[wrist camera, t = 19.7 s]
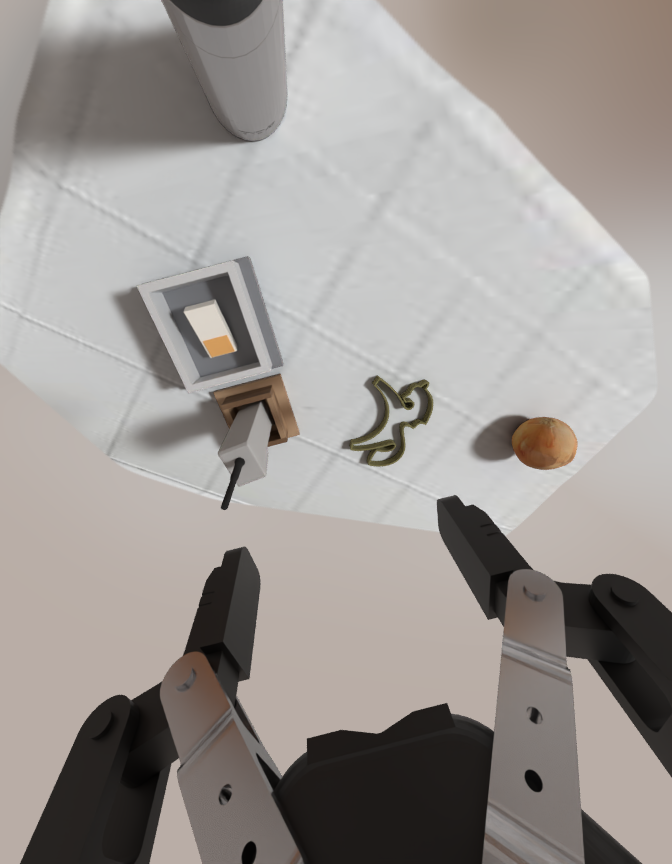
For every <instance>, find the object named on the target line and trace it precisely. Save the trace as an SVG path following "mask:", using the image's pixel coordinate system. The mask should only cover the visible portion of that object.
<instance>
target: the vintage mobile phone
mask: <svg viewBox="0 0 672 864" xmlns="http://www.w3.org/2000/svg"><path fill="white" fill-rule="evenodd" d="M273 425H275V420H274V418H273V416H272V415H271V413H270V411H269V409H268V407H267V405H266V403H265V401H264V400H260V401H256V402H252V403H249V404H245V405H241V407H240V409H239V411H238V413H237V415H236V417H235V419H234V421H233V423H232V425H231V427H230V429H229V431H228V433H227V435H226V437H225V439H224V441H223V443H222V445H221V447H220V449H219V451H218V455H219V457H220V458H221V460H222V461H223V463H224V465H225V466H226V468H227V469H228V471H229V472H230V474H231V478H230V483H229V486H228V489H227V491H226V494H225V497H224V500H223V502H222V506H221V509H223V510H226V509H227V508H228V505H229V502H230V499H231V496H232V493H233V490H234V487H235V484H236V483H237V485H238V486H239V487H240V486H242V485H245V484H247V483H250V482H253V481H255V480H258V479H260V478H263V477H265V476H266V474H267V463H268V448H267V446H268V441H269V436H270V430H271V426H273Z"/></svg>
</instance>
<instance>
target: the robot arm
mask: <svg viewBox="0 0 672 864" xmlns="http://www.w3.org/2000/svg"><path fill="white" fill-rule="evenodd" d="M161 1H162V3H163V5H164V7H165V9H166V11H167V14H168V16H169V18H170V20H171V22H172V24H173V26H174V29H175V31H176V33H177V35H178V37H179V39H180V41H181V44H182V46H183V48H184V50H185V52H186V54H187V56H188V58H189V61H190V63H191V65H192V67H193V69H194V71H195V73H196V76H197V78H198V80H199V82H200V84H201V87H202V89H203V91H204V93H205V95H206V97H207V99H208V101H209V103H210V105H211V108H212V110H213V112H214V114H215V115H216V117H217V118H218V120H219V121H220V123H221V124H222V125H223V126H224V127H225V128H226V129H227V130H228V131H229V132H231V133H232V134H234V135H235V136H237V137H239V138H241V139H244V140H249V141H256V140H262V139H264V138H266V137H268V136H270V135H271V134H272V133H273V132H275V130H276V129H277V128H278V126H279V125H280V123H281V121H282V119H283V117H284V113H285V110H286V106H287V76H286V53H285V34H284V15H283V0H161ZM437 512H438V526H439V531H440V534H441V537H442V539H443V541H444V543H445V545H446V546H447V548H448V550H449V552H450V554H451V555H452V557H453V559H454V561H455V562H456V564H457V566H458V568H459V569H460V571H461V573H462V574H463V576H464V578H465V580H466V582H467V584H468V585H469V587H470V589H471V591H472V592H473V594H474V596H475V598H476V599H477V601H478V603H479V604H480V606H481V608H482V610H483V612H484V613H485V615H486V617H487V619H488V620H489V619H493V618H497V617H498V618H499V620H500V622H501V623H502V625H503V627H504V632H503V642H502V654H501V664H500V675H499V685H498V696H497V708H496V717H495V729H494V731H492V730H491V729H490V728H488V727H487V726H484V725H483V724H481V723H480V722H478V721H475V720H473V719H471V718H468V717H465V716H461V715H455V714H451V713H450V710H449V707H448V705H447V703H445V704H442V705H437V706H433V707H429V708H425V709H421V710H418V711H414V712H412V713H410V714H409V715H407V716H406V717H404V718H403V719H401V720H400V721H398V722H397V723H395V724H394V725H392V726H391V727H389V728H388V729H387V730H385V731H383V732H382V733H378V734H374V733H365V732H356V731H347V730H339V731H335V732H331V733H327V734H324V735H320V736H316V737H312V738H308V739H307V752H306V753H304V754H303V755H302V756H301V757H299V758H298V759H297V760H296V761H295V762H294V763H293V764H292V765H291V766H290V767H289V769H288V770H287V771H286V772H285V774H284V775H283V777H282V775H281V773H280V772H279V770H278V768H277V767H276V765H275V763H274V762H273V760H272V758H271V757H270V755H269V754H268V752H267V751H266V749H265V747H264V746H263V744H262V742H261V740H260V738H259V736H258V735H257V733H256V731H255V729H254V727H253V725H252V723H251V721H250V720H249V718H248V716H247V714H246V712H245V710H244V708H243V707H242V705H241V703H240V701H239V699H238V698H237V696H236V693H237V686H238V682H239V681H243V680H247V679H249V677H250V669H251V660H252V651H253V643H254V634H255V627H256V619H257V610H258V601H259V593H260V575H259V572H258V569H257V567H256V565H255V563H254V561H253V559H252V557H251V555H250V553H249V551H248V549H247V548H246V547H241V548H237V549H233V550H229V551H226V552H225V554H224V558H223V561H222V565H221V567H217V568H214V570H213V571H212V573H211V574H210V576H209V577H208V579H207V580H206V583H205V586H204V590H203V593H202V597H201V599H200V602H199V608H198V609H197V613H196V616H195V619H194V622H193V626H192V629H191V632H190V635H189V639H188V642H187V645H186V649H185V652H184V654H183V656H182V657H181V658H179V659H178V660H177V661H176V662H175V663H174V664H173V665H172V666H171V668H170V669H169V670H168V672H167V673H166V675H165V677H164V679H163V681H162V682H160V683H159V684H157V685H156V686H154V687H152V688H151V689H149V690H148V691H146V692H144V693H143V694H141V695H139V696H138V697H136V698H134V699H133V700H130V699H129V698H127V697H126V696H124V695H116V696H113V697H111V698H109V699H107V700H106V701H104V702H103V703H102V704H101V705H99V706H98V707H97V708H96V709H95V710H94V711H93V712H92V713H91V714H90V716H89V717H88V718H87V719H86V721H85V722H84V724H83V725H82V727H81V729H80V731H79V733H78V735H77V737H76V739H75V742H74V744H73V746H72V748H71V751H70V753H69V755H68V758H67V760H66V762H65V764H64V767H63V769H62V771H61V773H60V775H59V777H58V780H57V782H56V784H55V786H54V789H53V791H52V793H51V796H50V798H49V800H48V802H47V804H46V807H45V809H44V811H43V813H42V816H41V818H40V820H39V822H38V825H37V827H36V829H35V831H34V834H33V836H32V838H31V840H30V843H29V845H28V847H27V849H26V852H25V854H24V856H23V858H22V860H21V863H20V864H149V862H150V857H151V853H152V849H153V844H154V839H155V835H156V831H157V826H158V821H159V817H160V813H161V808H162V804H163V799H164V795H165V790H166V785H167V781H168V776H169V772H170V767H171V763H173V762H174V761H175V760H177V759H178V758H179V759H180V763H181V766H180V767H179V769H178V771H177V777H178V783H179V786H180V790H181V793H182V797H183V800H184V803H185V807H186V810H187V813H188V816H189V820H190V823H191V827H192V830H193V833H194V836H195V840H196V843H197V847H198V850H199V854H200V857H201V860H202V864H642V863H641V862H639V860H637V859H636V858H635V857H634V856H633V855H632V854H631V853H630V852H629V851H627V850H626V849H625V848H624V847H623V846H622V845H620V843H618V842H617V841H616V840H615V839H614V838H613V837H612V836H611V835H610V834H608V833H607V832H606V831H605V830H604V829H603V828H602V827H601V826H600V825H598V824H597V823H596V822H595V821H594V820H593V819H592V818H591V817H589V816H588V815H587V814H586V813H585V812H584V811H583V810H582V809H581V803H580V788H579V773H578V758H577V745H576V744H577V743H576V729H575V714H574V700H573V699H574V698H573V684H572V676H571V671H570V669H568V667H567V661H566V657H575V658H582V659H588V661H589V662H590V663H591V665H592V666H593V667H594V669H595V670H596V672H597V673H598V675H599V676H600V677H601V679H602V680H603V682H604V683H605V685H606V686H607V687H608V689H609V690H610V691H611V693H612V694H613V696H614V697H615V699H616V700H617V701H618V703H619V704H620V705H621V707H622V708H623V710H624V711H625V713H626V714H627V715H628V717H629V718H630V720H631V721H632V722H633V724H634V725H635V727H636V728H637V729H638V731H639V732H640V734H641V735H642V736H643V738H644V739H645V741H646V742H647V743H648V745H649V746H650V748H651V749H652V750H653V752H654V753H655V755H656V756H657V757H658V759H659V760H660V762H661V763H662V764H663V766H664V767H665V769H666V770H667V771H668V773H669V774H670V776H671V777H672V612H671V611H669V610H668V609H667V608H666V607H665V606H664V605H663V604H662V603H661V602H660V601H659V600H658V599H657V598H656V597H655V596H654V595H652V594H651V593H650V592H649V591H648V590H647V589H646V588H645V587H643V586H642V585H640V584H639V583H637V582H635V581H633V580H631V579H629V578H626V577H624V576H620V575H616V574H602V575H599V576H597V577H596V578H595V579H594V580H593V582H592V585H587V584H572V583H561V582H556V581H553V580H552V579H551V578H549V577H548V576H546V575H545V574H543V573H541V572H538V571H535V570H533V569H532V568H531V567H530V566H529V565H528V563H527V562H526V561H525V560H524V558H523V557H522V556H521V555H520V554H519V553H518V551H517V550H516V549H515V548H514V546H513V545H512V544H511V543H510V541H509V540H508V539H507V538H506V537H505V535H504V534H503V533H501V531H500V529H499V528H498V527H497V526H496V525H495V524H494V522H493V521H492V520H491V518H490V517H489V516H488V515H487V514H486V512H484V511H483V510H481V509H479V508H478V507H476V506H474V505H469V506H465V505H464V504H463V503H462V501H461V500H460V499H459V498H458V496H456V495H454V496H450V497H446V498H442V499H438V500H437Z"/></svg>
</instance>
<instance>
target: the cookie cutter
mask: <svg viewBox="0 0 672 864" xmlns="http://www.w3.org/2000/svg"><path fill="white" fill-rule="evenodd" d="M380 380H381V381H382V382H383V383H385V384H386V385H387V386H388V387H390V388H391V389H392V390H393V391H394V393H395V394H396V395H397V397H398V398H399V400H400V402H401V405H402V406H403V407H404V408H405V409H406V410H411V409H412V408H413V407H414V402H413V401H412V400H411V399H410V398H406V397H407V396H409V395H410V394H411V392H412V391H413V389H414V388H415V387H422V388H423V389H424V390H425V392H426V394H427V396H428V407H427V410H426V413H425V415H424V417H423V419H422V420H421V419H416V420H414V421H413V422H412V423H411V424H410V423H408V422H401V423H400V434H401V447H400V450H399V451H398V453H397V454H396V455H395V456H393V457H392V458H390V459H387V460H383V461H371V459H372V457H373V456H374V454H375V453H376V452H377V451H380V452H389V451H392V450H394V449H395V447H396V444H395V443H394V441H393V440H391V439H390V440H385V441H381V442H377V443H373V444H368V445H360V446H354V445H353V444H358V443H362V442H365V441H368V440H370V439H372V438H374V437H375V436H377V435H378V434H379V433H380V432H381V431H382V430H383V429H384V427H385V426H386V424H387V421H388V418H389V405H388V402H387V399H386V397H385V396H384V394H383V393H382V391H381V390H380V389H379V388H378V386H377V383H378V382H379V381H380ZM372 384H373V385H374V386H375V387H376V388H377V389H378V390H379V391H380V393H381V395H382V396H383V399H384V402H385V416H384V418H383V421H382V422H381V424H380V425H379V426H378V427H377V428H376V429H375V430H374V431H373V432H371V433H370V434H368V435H366V436H363V437H360V438H356V439H351V441H350V445H349V446H350V449H351V450H353V451H365V450H371V451H370V453H369V455H368V457H367V463H368V465H370V466H378V467H380V466H387V465H391V464H393V463H395V462H397V461H398V460H399V459H400V458H401V457H402V456H403V454H404V451H405V437H404V427H405V426H408V427H411V428H412V429H414V428H415V427H416V426H417V425H419V424H425V425H426V424H427V422H428V420H429V418H430V416H431V413H432V410H433V399H432V396H431V394H430V392H429V391H428V390H427V388H428V386H429V382H428V381H427V380H425V379H424V380H422V381H420V382H418V383H412V384H411V385H410V386H409V387H408V389H407V390H406V391H405V392H404V393H402V394H401V395H400V396H401V397H400V396H399V395H398V393H397V392H396V391H395V390H394V389H393V388H392V387H391V386H390V385H389V384H388V383H387V382H385V381H384V380H383V379H382V378H380V377H379V376H377V377H376V378H375V379H374V381H373V382H372ZM401 398H402V399H401ZM403 401H404V402H405V403H406V402H410V403H409V404H408V405H406V406H405V404H404V402H403ZM388 445H389V446H388ZM384 446H385V447H384Z"/></svg>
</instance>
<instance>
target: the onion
mask: <svg viewBox="0 0 672 864" xmlns="http://www.w3.org/2000/svg"><path fill="white" fill-rule="evenodd" d="M512 446H513V450H514V452H515V454H516V456H517V457H518V458H519V460H520V461H521V462H522V463H524V464H525V465H527V466H529V467H532V468H536V469H541V470H549V469H555V468H559V467H562V466H565V465H567V464H568V463H570V462H571V461H572V460H573V459H574V457H575V454H576V450H577V439H576V436H575V434H574V432H573V430H572V429H571V428H570V427H569V426H568V425H567V424H566V423H564V422H562V421H560V420H558V419H555V418H549V417H538V418H532V419H529V420H527V421H526V422H524V423H523V424H521V425H520V426H519V427H518V428H517V429H516V431H515V432H514V434H513V436H512Z"/></svg>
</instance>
